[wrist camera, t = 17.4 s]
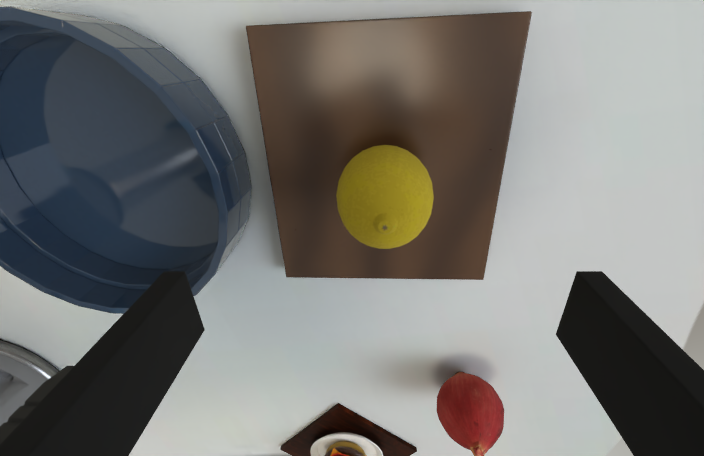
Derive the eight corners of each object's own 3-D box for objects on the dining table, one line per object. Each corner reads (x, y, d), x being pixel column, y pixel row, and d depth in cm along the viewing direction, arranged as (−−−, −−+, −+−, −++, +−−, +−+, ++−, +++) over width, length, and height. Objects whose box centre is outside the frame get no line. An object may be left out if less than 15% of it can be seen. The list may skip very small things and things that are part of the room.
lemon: (347, 127, 22) (332, 164, 15) (432, 137, 22) (458, 180, 15) (340, 204, 24) (324, 268, 17) (415, 213, 24) (430, 281, 17)
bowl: (61, 274, 31) (10, 311, 27) (-76, 24, 22) (-190, 18, 18) (271, 277, 30) (252, 316, 25) (220, 7, 20) (176, -4, 16)
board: (290, 267, 29) (286, 277, 28) (253, 27, 21) (245, 25, 19) (478, 269, 28) (483, 280, 27) (522, 13, 19) (532, 11, 18)
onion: (501, 363, 33) (534, 448, 26) (474, 398, 36) (497, 484, 29) (445, 348, 32) (464, 431, 25) (422, 384, 35) (433, 468, 28)
